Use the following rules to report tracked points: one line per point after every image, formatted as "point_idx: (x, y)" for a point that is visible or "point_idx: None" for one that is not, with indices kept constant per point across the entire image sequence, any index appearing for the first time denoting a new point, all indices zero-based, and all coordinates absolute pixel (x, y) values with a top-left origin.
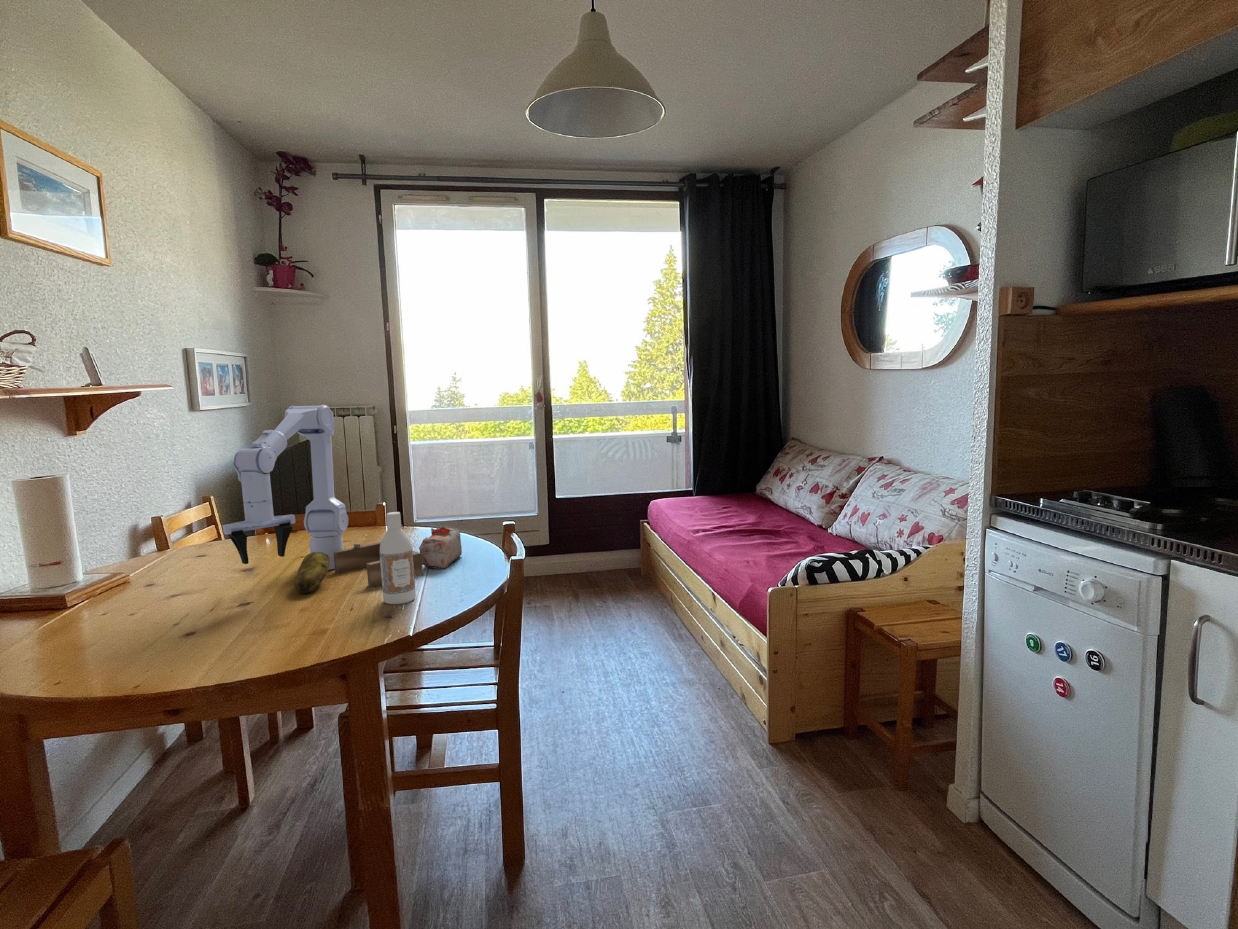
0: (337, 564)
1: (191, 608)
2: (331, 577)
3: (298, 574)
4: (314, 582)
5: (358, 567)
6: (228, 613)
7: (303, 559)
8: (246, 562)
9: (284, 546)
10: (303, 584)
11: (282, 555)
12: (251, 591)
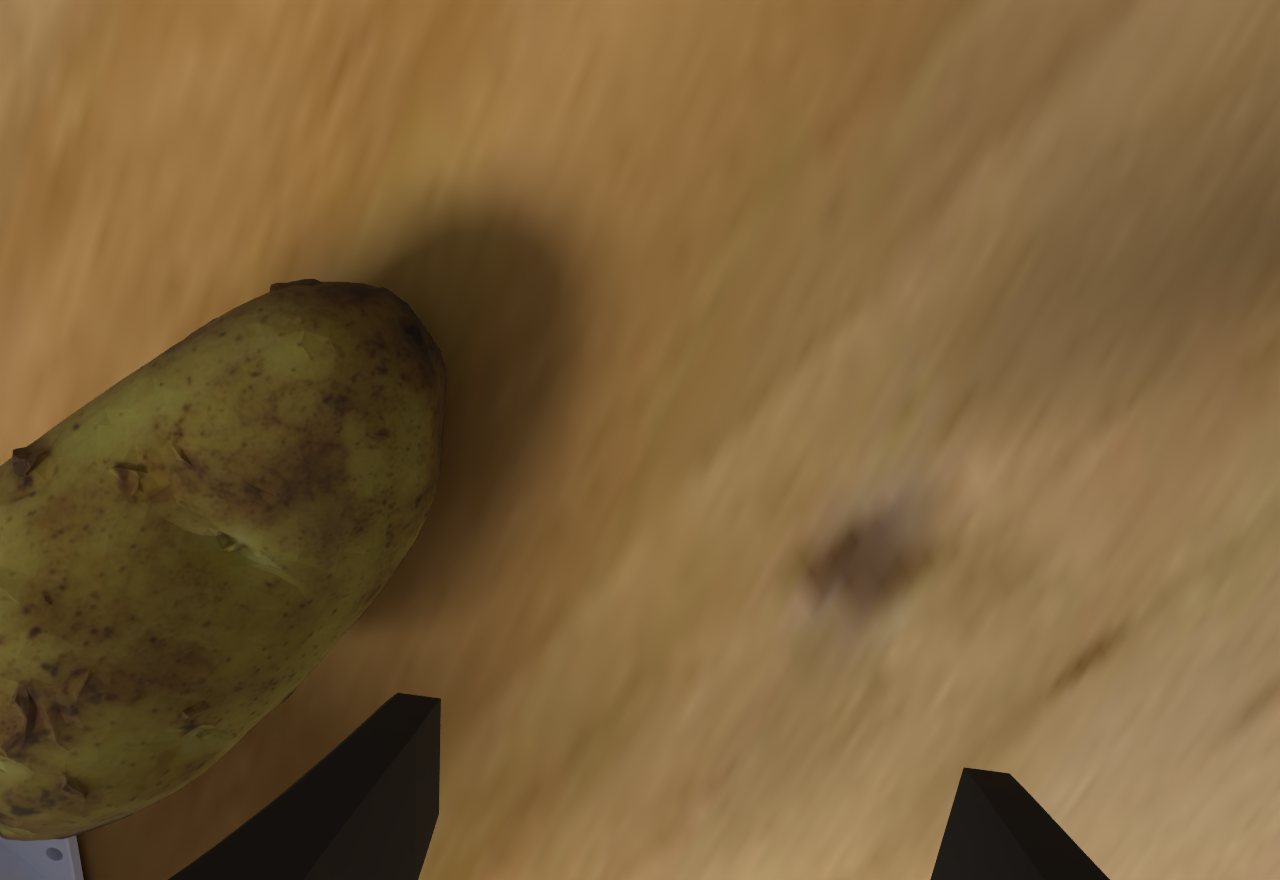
0: None
1: (1138, 820)
2: None
3: (343, 534)
4: (281, 283)
5: None
6: (1091, 440)
7: (144, 771)
8: (1003, 787)
9: (307, 798)
10: (394, 327)
11: (417, 707)
12: (657, 827)
